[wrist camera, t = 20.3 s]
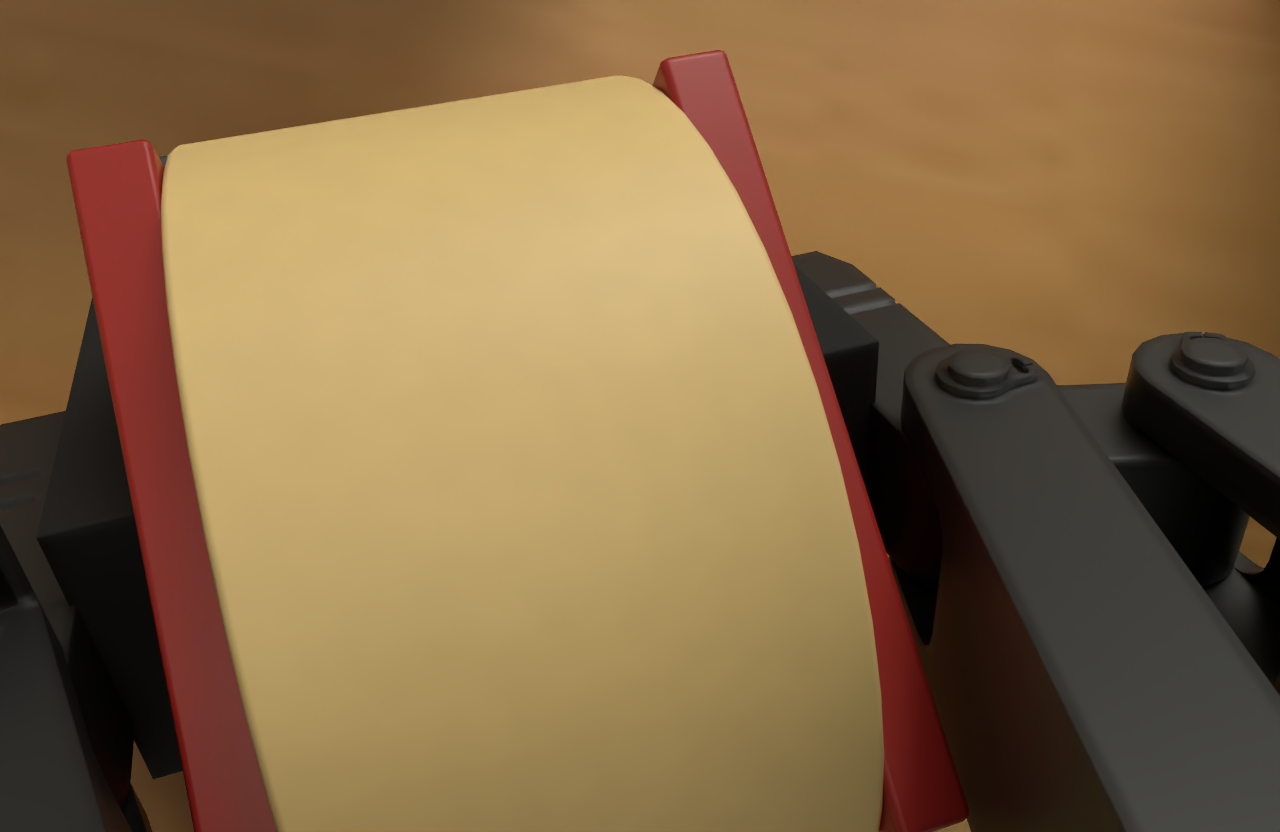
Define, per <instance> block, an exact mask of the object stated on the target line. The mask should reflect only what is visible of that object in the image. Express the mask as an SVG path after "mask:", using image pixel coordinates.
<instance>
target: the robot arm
mask: <svg viewBox="0 0 1280 832" xmlns="http://www.w3.org/2000/svg"><path fill="white" fill-rule="evenodd" d="M791 257H792V261H793V264H794V267H795V270H796V273H797V276H798V279H799V282H800V285H801V289H802V292H803V295H804V298H805V301H806V304H807V307H808V310H809V313H810V317H811V320H812V323H813V326H814V329H815V332H816V335H817V338H818V341H819V345H820V348H821V351H822V354H823V357H824V360H825V363H826V366H827V369H828V373H829V376H830V379H831V382H832V385H833V388H834V391H835V394H836V397H837V400H838V404H839V407H840V410H841V413H842V416H843V419H844V422H845V425H846V428H847V432H848V435H849V438H850V441H851V444H852V447H853V450H854V453H855V456H856V460H857V463H858V466H859V469H860V472H861V475H862V478H863V481H864V484H865V488H866V491H867V494H868V497H869V500H870V503H871V506H872V509H873V512H874V516H875V519H876V522H877V525H878V528H879V531H880V534H881V537H882V540H883V544H884V547H885V550H886V552H887V553H888V555H889V562H890V565H891V568H892V572H893V575H894V578H895V581H896V584H897V587H898V590H899V593H900V596H901V600H902V603H903V606H904V609H905V612H906V615H907V618H908V621H909V624H910V628H911V631H912V634H913V637H914V640H915V643H916V646H917V649H918V652H919V655H920V659H921V662H922V665H923V668H924V671H925V674H926V677H927V680H928V683H929V687H930V690H931V693H932V696H933V699H934V702H935V705H936V708H937V711H938V715H939V718H940V721H941V724H942V727H943V730H944V733H945V736H946V739H947V743H948V746H949V749H950V752H951V755H952V758H953V761H954V764H955V767H956V771H957V774H958V777H959V780H960V783H961V786H962V789H963V792H964V795H965V799H966V802H967V805H968V808H969V816H968V817H967V821H968V823H969V826H970V829H971V832H1280V359H1279V358H1277V357H1275V356H1274V355H1272V354H1270V353H1268V352H1266V351H1264V350H1262V349H1260V348H1257V347H1255V346H1253V345H1251V344H1249V343H1246V342H1243V341H1239V340H1235V339H1231V338H1227V337H1225V336H1224V335H1221V334H1216V333H1208V332H1205V334H1202V333H1201V332H1185V333H1179V334H1169V335H1161V336H1158V337H1156V338H1153V339H1151V340H1148V341H1145V342H1143V343H1142V344H1141V345H1140V346H1139V347H1138V348H1137V350H1136V351H1135V352H1134V353H1133V355H1132V360H1131V364H1130V369H1129V373H1128V378H1127V383H1114V384H1089V385H1056V383H1055V382H1054V381H1053V379H1052V378H1051V376H1050V375H1049V374H1048V373H1047V372H1046V371H1045V370H1044V369H1043V368H1042V367H1041V366H1039V365H1038V364H1037V363H1036V362H1035V361H1034V360H1032V359H1030V358H1028V357H1026V356H1023V355H1021V354H1019V353H1016V352H1014V351H1012V350H1009V349H1004V348H999V347H994V346H989V345H984V344H953V345H950V344H949V343H947V342H946V341H945V340H944V339H942V338H941V337H940V336H939V335H938V334H936V333H935V332H934V331H933V330H931V329H930V328H929V327H928V326H927V325H925V324H924V323H923V322H922V321H920V320H919V319H918V318H917V317H916V316H914V315H913V314H912V313H911V312H909V311H908V310H907V309H906V308H905V307H903V306H902V305H901V304H900V303H898V304H895V299H894V298H892V297H891V296H890V295H889V294H888V293H886V292H885V291H884V290H883V289H881V288H876V284H875V283H874V282H873V281H872V280H870V279H869V278H868V277H867V276H866V275H864V274H863V273H862V272H861V271H859V270H858V269H857V268H856V267H855V266H853V265H852V264H849V263H846V262H844V261H841V260H838V259H836V258H833V257H830V256H828V255H825V254H822V253H820V252H817V251H815V252H810V253H805V254H801V255H796V256H791ZM1250 516H1251V517H1252V518H1253V519H1254V520H1256V521H1257V522H1258V523H1260V524H1261V525H1262V526H1263V527H1265V528H1266V529H1267V530H1268V531H1270V532H1271V533H1272V534H1274V535H1275V536H1276V537H1277V539H1276V542H1275V545H1274V548H1273V551H1272V554H1271V557H1270V559H1269V562H1268V564H1267V565H1266V567H1265V568H1262V567H1260V566H1258V565H1257V564H1255V563H1253V562H1252V561H1250V560H1249V559H1248V558H1247V557H1246V556H1244V555H1243V554H1242V553H1241V552H1239V549H1240V545H1241V542H1242V539H1243V536H1244V533H1245V530H1246V527H1247V523H1248V520H1249V517H1250ZM134 741H135V743H136V745H137V747H138V749H139V751H140V753H141V755H142V757H143V759H144V761H145V763H146V765H147V767H148V769H149V772H150V774H151V776H152V778H153V779H156V778H159V777H163V776H166V775H170V774H173V773H177V772H180V771H183V769H182V764H181V758H180V753H179V748H178V743H177V737H176V732H175V727H174V722H173V716H172V711H171V706H170V701H169V695H168V690H167V685H166V680H165V674H164V669H163V664H162V659H161V653H160V648H159V643H158V638H157V632H156V627H155V622H154V617H153V611H152V606H151V601H150V596H149V590H148V585H147V580H146V575H145V569H144V564H143V559H142V554H141V548H140V543H139V538H138V533H137V527H136V522H135V517H134V512H133V507H132V501H131V496H130V491H129V486H128V480H127V475H126V470H125V465H124V459H123V454H122V449H121V444H120V438H119V433H118V428H117V423H116V417H115V412H114V407H113V402H112V396H111V391H110V386H109V381H108V375H107V370H106V365H105V360H104V354H103V349H102V344H101V339H100V333H99V328H98V323H97V318H96V312H95V307H94V302H93V297H92V301H91V306H90V310H89V314H88V319H87V323H86V327H85V331H84V336H83V340H82V344H81V349H80V353H79V357H78V361H77V366H76V370H75V374H74V379H73V383H72V387H71V391H70V396H69V400H68V404H67V409H66V411H64V412H59V413H54V414H50V415H45V416H40V417H35V418H30V419H26V420H21V421H16V422H11V423H6V424H2V425H0V832H152V829H151V826H150V823H149V820H148V817H147V814H146V812H145V810H144V808H143V806H142V804H141V802H140V800H139V798H138V796H137V794H136V792H135V791H134V789H133V787H132V785H131V783H130V779H131V768H132V756H133V745H134Z"/></svg>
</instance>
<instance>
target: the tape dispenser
mask: <svg viewBox="0 0 1280 832" xmlns="http://www.w3.org/2000/svg"><path fill="white" fill-rule="evenodd" d="M67 166H68V171H69V176H70V181H71V186H72V192H73V197H74V202H75V207H76V213H77V218H78V223H79V228H80V234H81V239H82V244H83V249H84V255H85V260H86V265H87V270H88V276H89V281H90V286H91V291H92V297H93V302H94V307H95V312H96V318H97V323H98V328H99V333H100V339H101V344H102V349H103V354H104V360H105V365H106V370H107V375H108V381H109V386H110V391H111V396H112V402H113V407H114V412H115V417H116V423H117V428H118V433H119V438H120V444H121V449H122V454H123V459H124V465H125V470H126V475H127V480H128V486H129V491H130V496H131V501H132V507H133V512H134V517H135V522H136V527H137V533H138V538H139V543H140V548H141V554H142V559H143V564H144V569H145V575H146V580H147V585H148V590H149V596H150V601H151V606H152V611H153V617H154V622H155V627H156V632H157V638H158V643H159V648H160V653H161V659H162V664H163V669H164V674H165V680H166V685H167V690H168V695H169V701H170V706H171V711H172V716H173V722H174V727H175V732H176V737H177V743H178V748H179V753H180V758H181V764H182V769H183V774H184V779H185V785H186V790H187V795H188V800H189V806H190V811H191V816H192V821H193V827H194V832H934V831H937V830H940V829H942V828H945V827H948V826H951V825H954V824H956V823H959V822H962V821H964V820H965V819H966V818H967V817H968V816H969V808H968V805H967V802H966V799H965V795H964V792H963V789H962V786H961V783H960V780H959V777H958V774H957V771H956V767H955V764H954V761H953V758H952V755H951V752H950V749H949V746H948V743H947V739H946V736H945V733H944V730H943V727H942V724H941V721H940V718H939V715H938V711H937V708H936V705H935V702H934V699H933V696H932V693H931V690H930V687H929V683H928V680H927V677H926V674H925V671H924V668H923V665H922V662H921V659H920V655H919V652H918V649H917V646H916V643H915V640H914V637H913V634H912V631H911V628H910V624H909V621H908V618H907V615H906V612H905V609H904V606H903V603H902V600H901V596H900V593H899V590H898V587H897V584H896V581H895V578H894V575H893V572H892V568H891V565H890V562H889V559H888V556H887V553H886V550H885V547H884V544H883V540H882V537H881V534H880V531H879V528H878V525H877V522H876V519H875V516H874V512H873V509H872V506H871V503H870V500H869V497H868V494H867V491H866V488H865V484H864V481H863V478H862V475H861V472H860V469H859V466H858V463H857V460H856V456H855V453H854V450H853V447H852V444H851V441H850V438H849V435H848V432H847V428H846V425H845V422H844V419H843V416H842V413H841V410H840V407H839V404H838V400H837V397H836V394H835V391H834V388H833V385H832V382H831V379H830V376H829V373H828V369H827V366H826V363H825V360H824V357H823V354H822V351H821V348H820V345H819V341H818V338H817V335H816V332H815V329H814V326H813V323H812V320H811V317H810V313H809V310H808V307H807V304H806V301H805V298H804V295H803V292H802V289H801V285H800V282H799V279H798V276H797V273H796V270H795V267H794V264H793V261H792V257H791V254H790V251H789V248H788V245H787V242H786V239H785V236H784V233H783V229H782V226H781V223H780V220H779V217H778V214H777V211H776V208H775V205H774V201H773V198H772V195H771V192H770V189H769V186H768V183H767V180H766V177H765V173H764V170H763V167H762V164H761V161H760V158H759V155H758V152H757V149H756V145H755V142H754V139H753V136H752V133H751V130H750V127H749V124H748V121H747V118H746V114H745V111H744V108H743V105H742V102H741V99H740V96H739V93H738V90H737V86H736V83H735V80H734V77H733V74H732V71H731V68H730V65H729V62H728V58H727V55H726V54H725V52H724V51H721V50H716V51H710V52H704V53H697V54H691V55H685V56H678V57H672V58H667V59H665V60H663V61H662V62H661V64H660V67H659V69H658V72H657V75H656V78H655V81H654V83H653V86H652V85H650V84H648V83H646V82H645V81H643V80H641V79H638V78H633V77H627V76H620V75H616V76H610V77H604V78H598V79H591V80H585V81H579V82H573V83H566V84H560V85H554V86H547V87H541V88H535V89H529V90H522V91H516V92H510V93H504V94H497V95H491V96H485V97H479V98H472V99H466V100H460V101H453V102H447V103H441V104H435V105H428V106H422V107H416V108H410V109H403V110H397V111H391V112H385V113H378V114H372V115H366V116H359V117H353V118H347V119H341V120H334V121H328V122H322V123H316V124H309V125H303V126H297V127H291V128H284V129H278V130H272V131H265V132H259V133H253V134H247V135H240V136H234V137H228V138H222V139H215V140H209V141H203V142H197V143H190V144H184V145H179V146H178V147H176V148H174V149H173V151H172V152H171V153H170V154H169V155H168V156H163V157H158V155H157V153H156V151H155V149H154V147H153V146H152V144H151V143H150V142H149V141H146V140H139V141H132V142H126V143H120V144H113V145H107V146H101V147H94V148H88V149H82V150H75V151H71V152H69V153H68V154H67Z"/></svg>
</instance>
